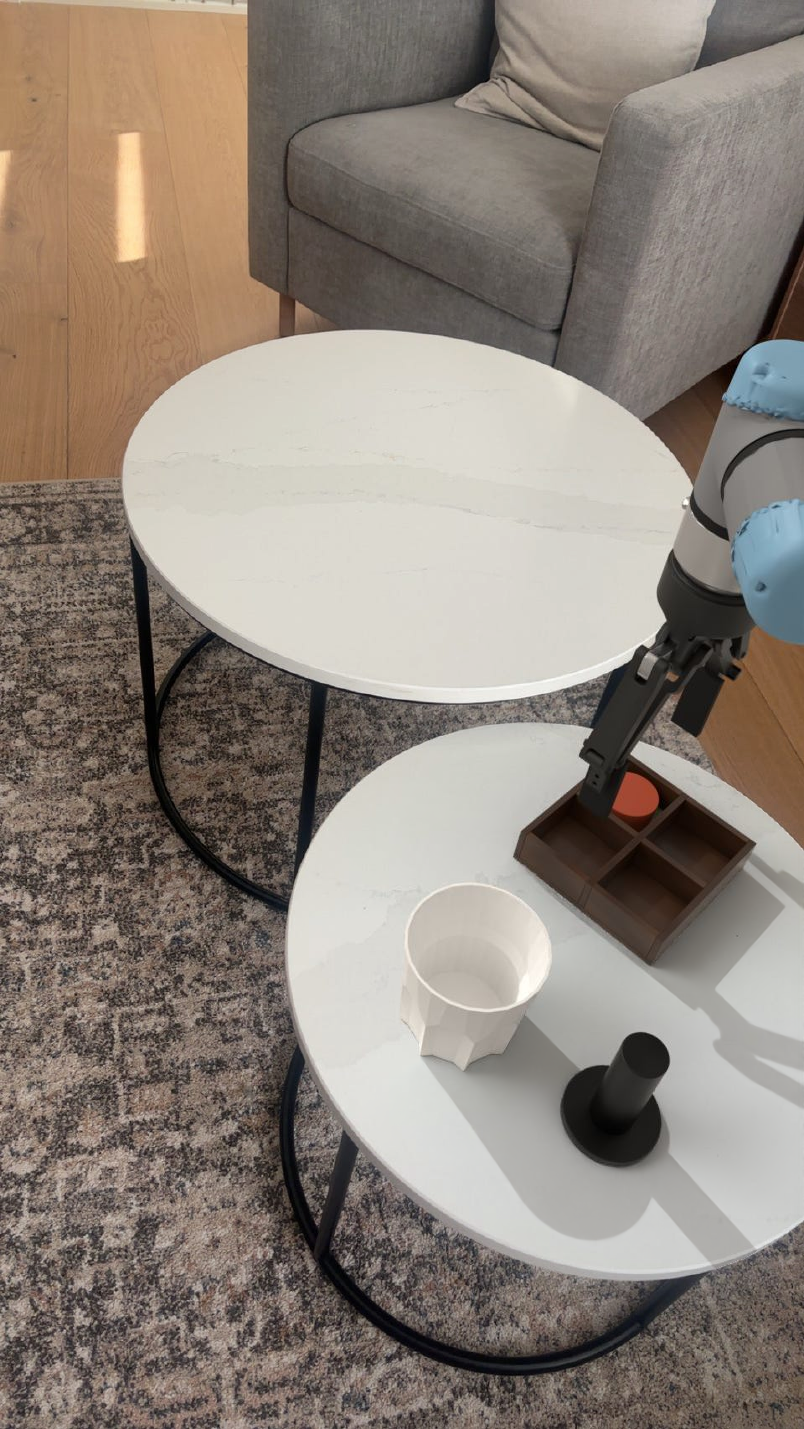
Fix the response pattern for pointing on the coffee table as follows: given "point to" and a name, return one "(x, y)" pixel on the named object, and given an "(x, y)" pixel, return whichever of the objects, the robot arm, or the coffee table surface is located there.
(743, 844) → the grid
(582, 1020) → the coffee table surface
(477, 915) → the cup
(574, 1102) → the stand
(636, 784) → the token
